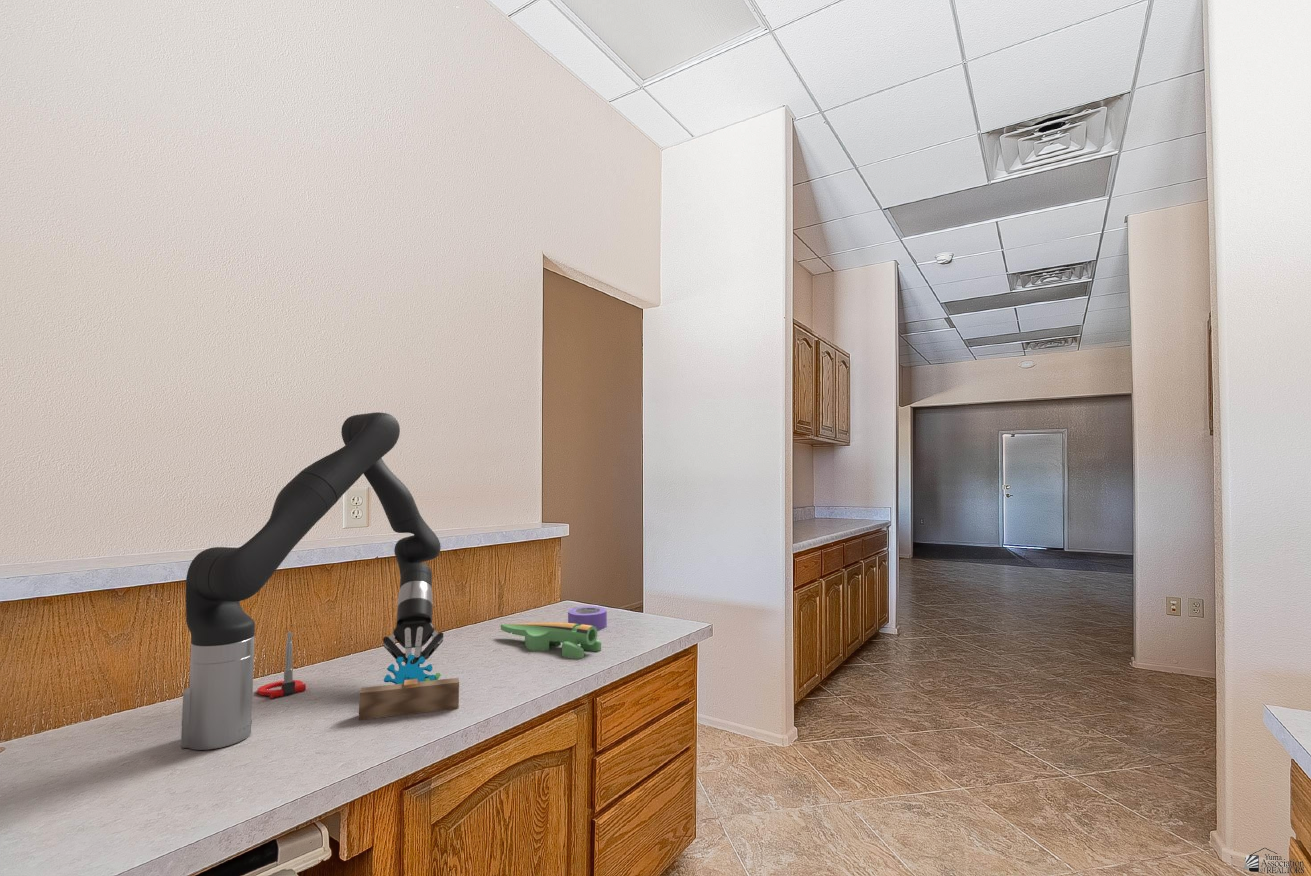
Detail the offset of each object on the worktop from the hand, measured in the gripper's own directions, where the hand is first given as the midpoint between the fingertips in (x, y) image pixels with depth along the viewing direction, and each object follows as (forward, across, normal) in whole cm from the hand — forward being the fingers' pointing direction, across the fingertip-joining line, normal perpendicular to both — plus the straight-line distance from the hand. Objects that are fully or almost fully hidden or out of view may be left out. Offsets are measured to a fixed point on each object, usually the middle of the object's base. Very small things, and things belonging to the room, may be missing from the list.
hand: (412, 677), depth 129 cm
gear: (+4, 0, +1) cm, 4 cm away
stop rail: (+9, 0, -4) cm, 10 cm away
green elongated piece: (-17, +32, +23) cm, 43 cm away
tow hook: (-6, -27, +12) cm, 30 cm away
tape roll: (-29, +48, +35) cm, 66 cm away
